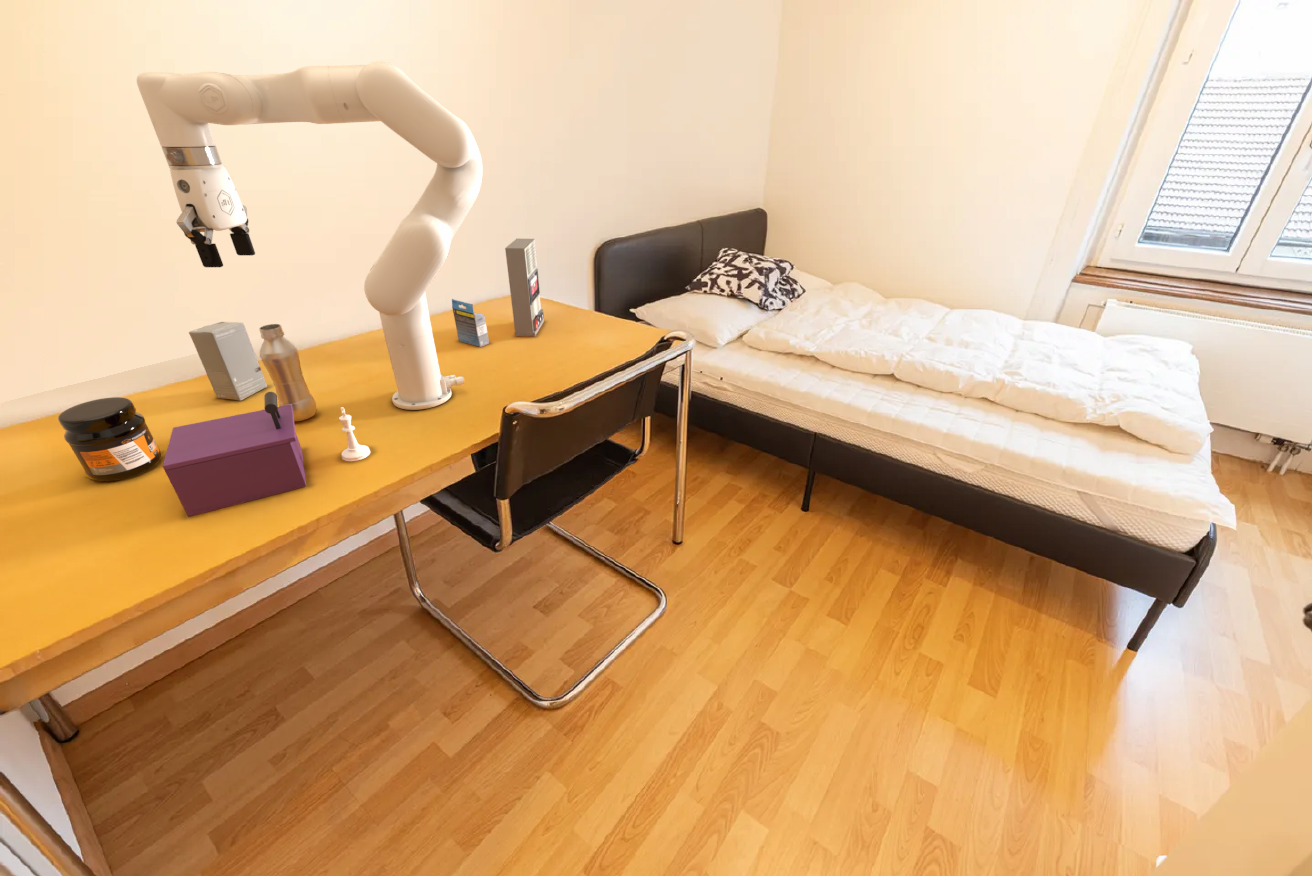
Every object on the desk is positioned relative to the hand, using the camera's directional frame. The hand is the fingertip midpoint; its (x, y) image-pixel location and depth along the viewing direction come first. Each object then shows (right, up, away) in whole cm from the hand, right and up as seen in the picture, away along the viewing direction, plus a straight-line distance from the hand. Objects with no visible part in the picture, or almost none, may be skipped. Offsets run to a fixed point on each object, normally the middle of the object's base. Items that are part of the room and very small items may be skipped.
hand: (230, 260), depth 104 cm
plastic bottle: (+4, -29, +14) cm, 33 cm away
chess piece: (+23, -36, +2) cm, 43 cm away
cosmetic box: (-16, -23, +25) cm, 37 cm away
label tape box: (+28, -6, +54) cm, 61 cm away
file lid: (+8, -33, -10) cm, 36 cm away
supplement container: (-16, -39, -3) cm, 42 cm away
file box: (+8, -41, -6) cm, 42 cm away
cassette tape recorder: (+42, 0, +65) cm, 77 cm away
